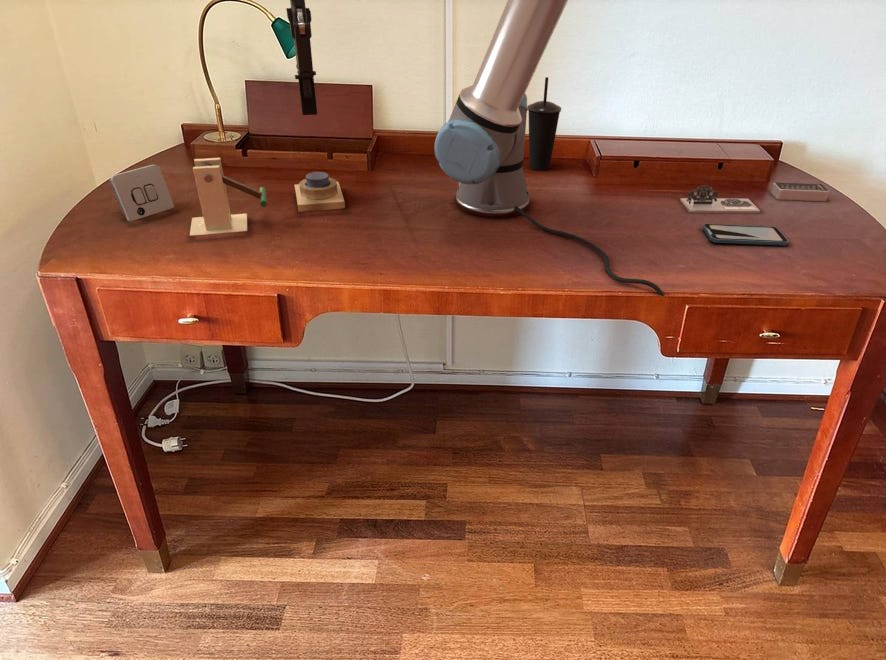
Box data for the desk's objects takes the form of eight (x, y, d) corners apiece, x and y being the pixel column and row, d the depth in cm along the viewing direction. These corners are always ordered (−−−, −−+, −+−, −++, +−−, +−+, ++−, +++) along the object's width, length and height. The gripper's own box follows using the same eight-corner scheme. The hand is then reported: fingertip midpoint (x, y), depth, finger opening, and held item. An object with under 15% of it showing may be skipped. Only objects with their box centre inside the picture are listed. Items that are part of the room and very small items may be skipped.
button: (328, 180, 139) (327, 171, 138) (330, 188, 136) (329, 178, 135) (306, 181, 138) (305, 172, 137) (307, 189, 135) (306, 180, 134)
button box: (339, 192, 145) (337, 172, 142) (345, 213, 136) (343, 191, 134) (296, 195, 143) (293, 175, 140) (299, 216, 134) (296, 195, 132)
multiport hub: (770, 191, 153) (773, 182, 152) (819, 193, 153) (822, 183, 152) (777, 199, 149) (780, 189, 148) (827, 201, 149) (830, 191, 148)
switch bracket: (248, 219, 133) (236, 153, 125) (248, 236, 126) (236, 168, 119) (193, 223, 130) (178, 157, 123) (190, 241, 124) (174, 172, 116)
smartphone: (790, 242, 129) (712, 239, 129) (789, 247, 130) (711, 244, 129) (776, 226, 135) (701, 223, 135) (774, 230, 136) (700, 227, 135)
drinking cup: (539, 159, 166) (547, 72, 155) (562, 168, 161) (571, 79, 150) (516, 165, 162) (522, 76, 151) (538, 174, 157) (546, 83, 146)
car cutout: (689, 212, 142) (694, 191, 140) (680, 200, 148) (684, 180, 145) (759, 212, 143) (765, 192, 141) (747, 200, 149) (753, 180, 146)
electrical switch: (131, 227, 128) (115, 178, 123) (118, 222, 131) (101, 173, 126) (177, 212, 134) (163, 165, 129) (163, 208, 137) (149, 161, 132)
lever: (263, 196, 130) (268, 185, 129) (264, 210, 125) (269, 199, 124) (199, 168, 124) (204, 156, 123) (197, 182, 119) (202, 170, 118)
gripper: (270, -34, 120) (287, 105, 133) (272, -25, 109) (291, 124, 123) (313, -34, 121) (326, 103, 135) (320, -25, 111) (333, 122, 125)
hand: (309, 113), depth 129 cm, fingers closed
